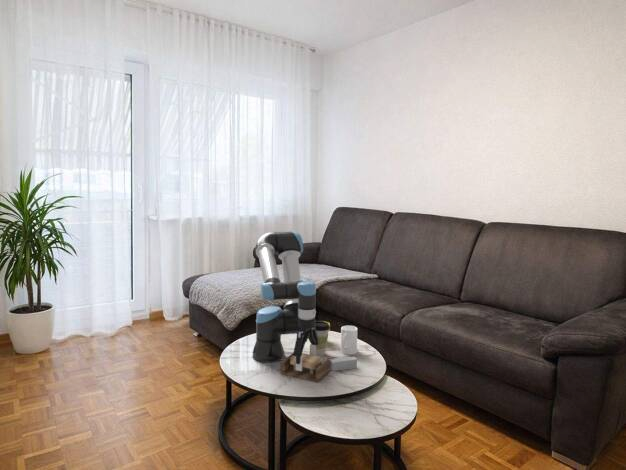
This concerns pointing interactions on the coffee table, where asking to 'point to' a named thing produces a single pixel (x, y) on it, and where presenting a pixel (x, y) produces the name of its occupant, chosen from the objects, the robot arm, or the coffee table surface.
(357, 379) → the coffee table surface
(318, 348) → the coffee cup
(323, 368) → the cradle
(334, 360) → the wedge
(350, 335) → the mug
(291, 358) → the board
